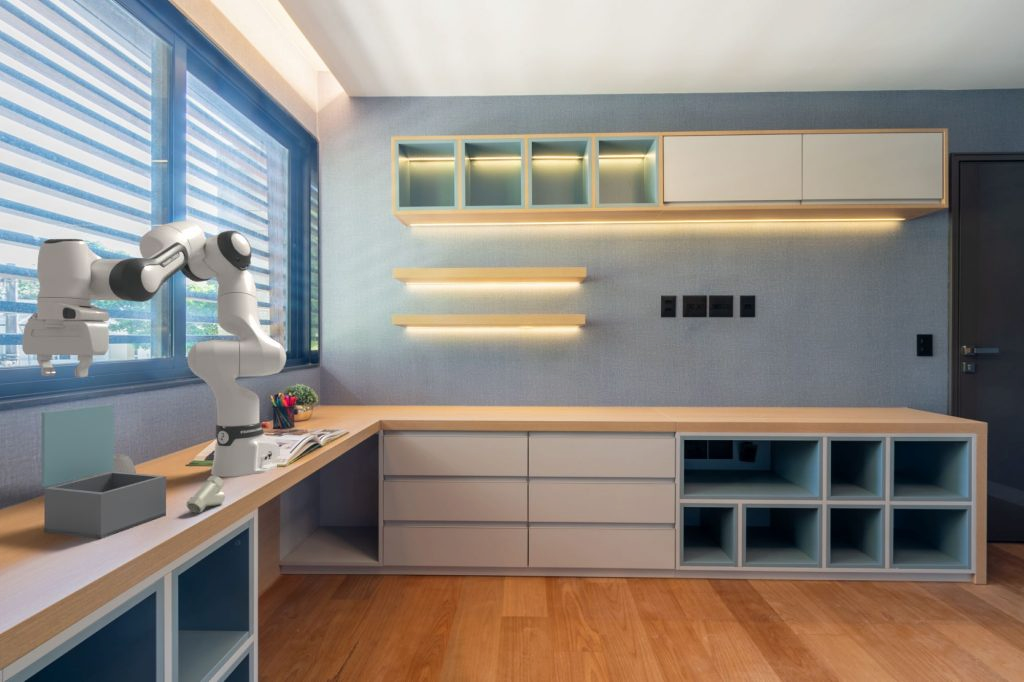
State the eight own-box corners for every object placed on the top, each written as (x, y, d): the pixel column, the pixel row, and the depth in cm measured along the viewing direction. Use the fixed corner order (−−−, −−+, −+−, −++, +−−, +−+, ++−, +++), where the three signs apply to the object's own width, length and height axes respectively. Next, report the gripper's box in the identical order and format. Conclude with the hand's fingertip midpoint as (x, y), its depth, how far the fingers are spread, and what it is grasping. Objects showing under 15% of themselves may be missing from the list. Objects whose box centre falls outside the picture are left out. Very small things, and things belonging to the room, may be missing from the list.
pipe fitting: (218, 495, 125) (207, 475, 121) (232, 496, 124) (221, 476, 121) (195, 522, 118) (182, 501, 115) (210, 523, 117) (198, 502, 114)
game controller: (140, 489, 136) (140, 450, 136) (129, 494, 132) (129, 454, 132) (83, 489, 135) (83, 451, 135) (69, 494, 131) (69, 455, 131)
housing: (113, 511, 118) (113, 471, 118) (166, 517, 114) (166, 476, 114) (44, 533, 105) (44, 488, 105) (100, 540, 101) (100, 494, 101)
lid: (113, 470, 118) (111, 469, 118) (113, 404, 118) (111, 404, 118) (44, 486, 105) (41, 486, 105) (44, 412, 105) (41, 412, 105)
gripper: (12, 312, 112) (12, 376, 112) (85, 311, 107) (84, 378, 107) (45, 313, 118) (45, 374, 118) (115, 312, 113) (115, 376, 113)
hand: (64, 376), depth 113 cm, fingers open, 8 cm apart
